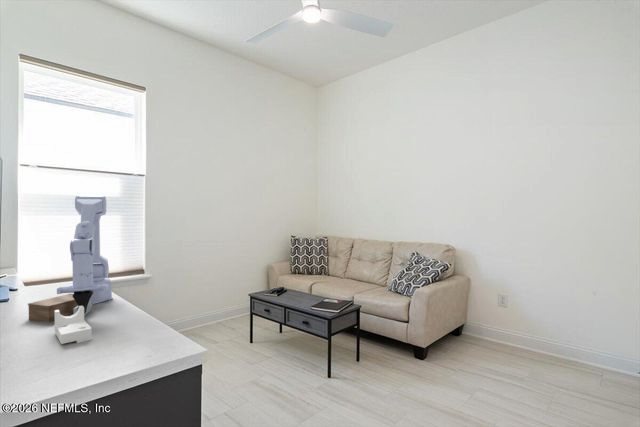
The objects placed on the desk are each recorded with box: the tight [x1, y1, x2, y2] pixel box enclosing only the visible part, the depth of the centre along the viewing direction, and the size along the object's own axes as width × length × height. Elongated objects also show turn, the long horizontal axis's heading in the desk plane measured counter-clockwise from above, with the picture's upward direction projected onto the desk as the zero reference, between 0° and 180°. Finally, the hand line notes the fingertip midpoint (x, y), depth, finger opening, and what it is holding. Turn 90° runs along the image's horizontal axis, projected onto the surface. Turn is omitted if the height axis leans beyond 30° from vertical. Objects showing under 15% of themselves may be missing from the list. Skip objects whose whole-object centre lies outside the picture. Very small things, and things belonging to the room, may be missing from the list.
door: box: [74, 298, 92, 317], centre depth 121 cm, size 15×2×5 cm, turn 17°
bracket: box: [54, 306, 93, 345], centre depth 102 cm, size 13×7×8 cm, turn 44°
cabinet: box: [27, 293, 78, 324], centre depth 123 cm, size 14×10×6 cm
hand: (83, 313), depth 117 cm, fingers closed
